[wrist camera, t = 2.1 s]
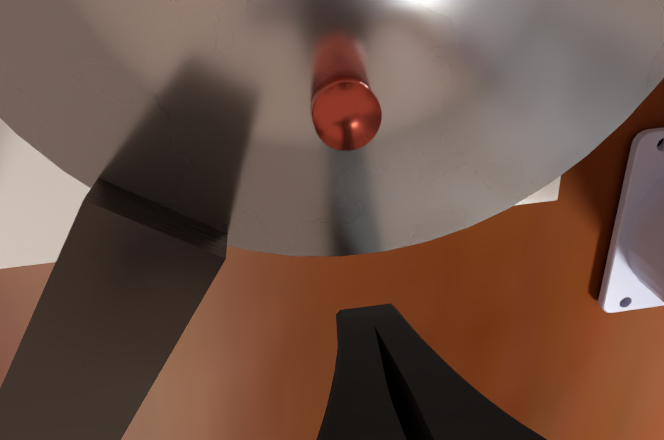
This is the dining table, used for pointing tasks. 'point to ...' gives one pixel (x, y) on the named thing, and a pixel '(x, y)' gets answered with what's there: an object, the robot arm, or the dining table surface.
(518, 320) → the dining table surface
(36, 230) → the board
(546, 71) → the lid
